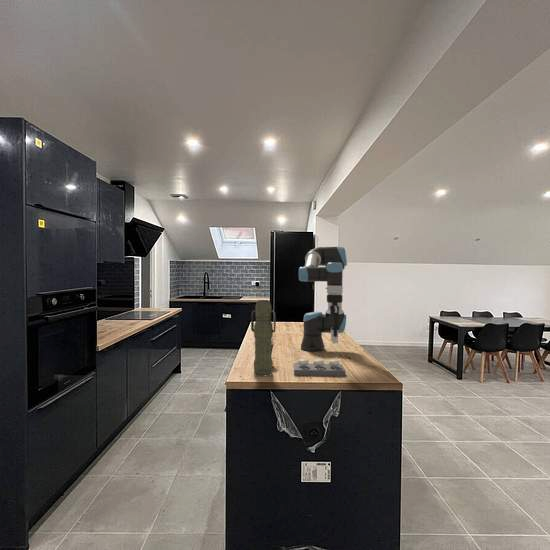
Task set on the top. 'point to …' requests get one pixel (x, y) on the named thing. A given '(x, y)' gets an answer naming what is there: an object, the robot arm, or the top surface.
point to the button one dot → (334, 363)
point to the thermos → (263, 337)
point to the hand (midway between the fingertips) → (334, 342)
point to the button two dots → (303, 362)
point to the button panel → (319, 370)
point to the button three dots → (318, 363)
